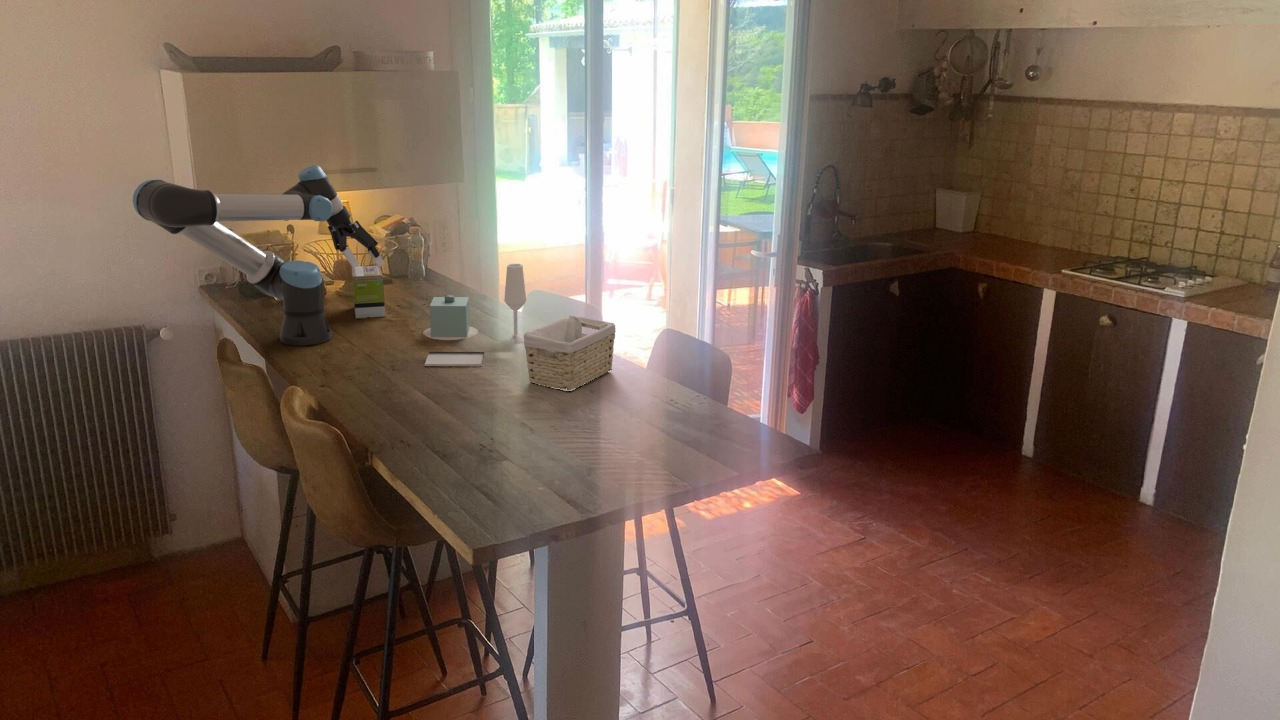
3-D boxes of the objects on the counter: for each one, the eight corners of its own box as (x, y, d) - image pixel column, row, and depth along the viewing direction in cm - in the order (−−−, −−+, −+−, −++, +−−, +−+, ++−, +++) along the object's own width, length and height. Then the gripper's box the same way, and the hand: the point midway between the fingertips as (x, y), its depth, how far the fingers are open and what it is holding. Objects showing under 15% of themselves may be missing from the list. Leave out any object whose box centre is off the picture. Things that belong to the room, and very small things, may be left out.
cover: (466, 337, 294) (465, 301, 291) (430, 337, 293) (429, 300, 290) (469, 327, 305) (468, 292, 301) (435, 327, 304) (433, 292, 300)
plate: (446, 347, 288) (446, 332, 286) (412, 336, 298) (411, 321, 297) (489, 336, 301) (488, 321, 299) (454, 326, 311) (454, 311, 309)
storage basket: (569, 396, 252) (569, 343, 247) (520, 384, 259) (520, 332, 255) (617, 372, 271) (618, 323, 267) (570, 362, 279) (571, 313, 275)
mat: (481, 366, 272) (481, 363, 272) (424, 366, 271) (424, 364, 270) (484, 349, 287) (484, 347, 287) (431, 349, 286) (431, 347, 286)
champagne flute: (530, 339, 299) (530, 265, 291) (516, 344, 294) (515, 268, 286) (514, 335, 302) (513, 262, 295) (500, 340, 297) (499, 265, 290)
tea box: (353, 307, 329) (350, 265, 325) (383, 305, 332) (381, 264, 328) (354, 318, 316) (352, 275, 311) (386, 317, 319) (383, 274, 314)
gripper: (365, 202, 298) (399, 257, 309) (319, 206, 313) (353, 259, 324) (349, 215, 293) (384, 271, 304) (303, 219, 308) (338, 272, 320)
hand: (368, 265), depth 314 cm, fingers open, 13 cm apart
